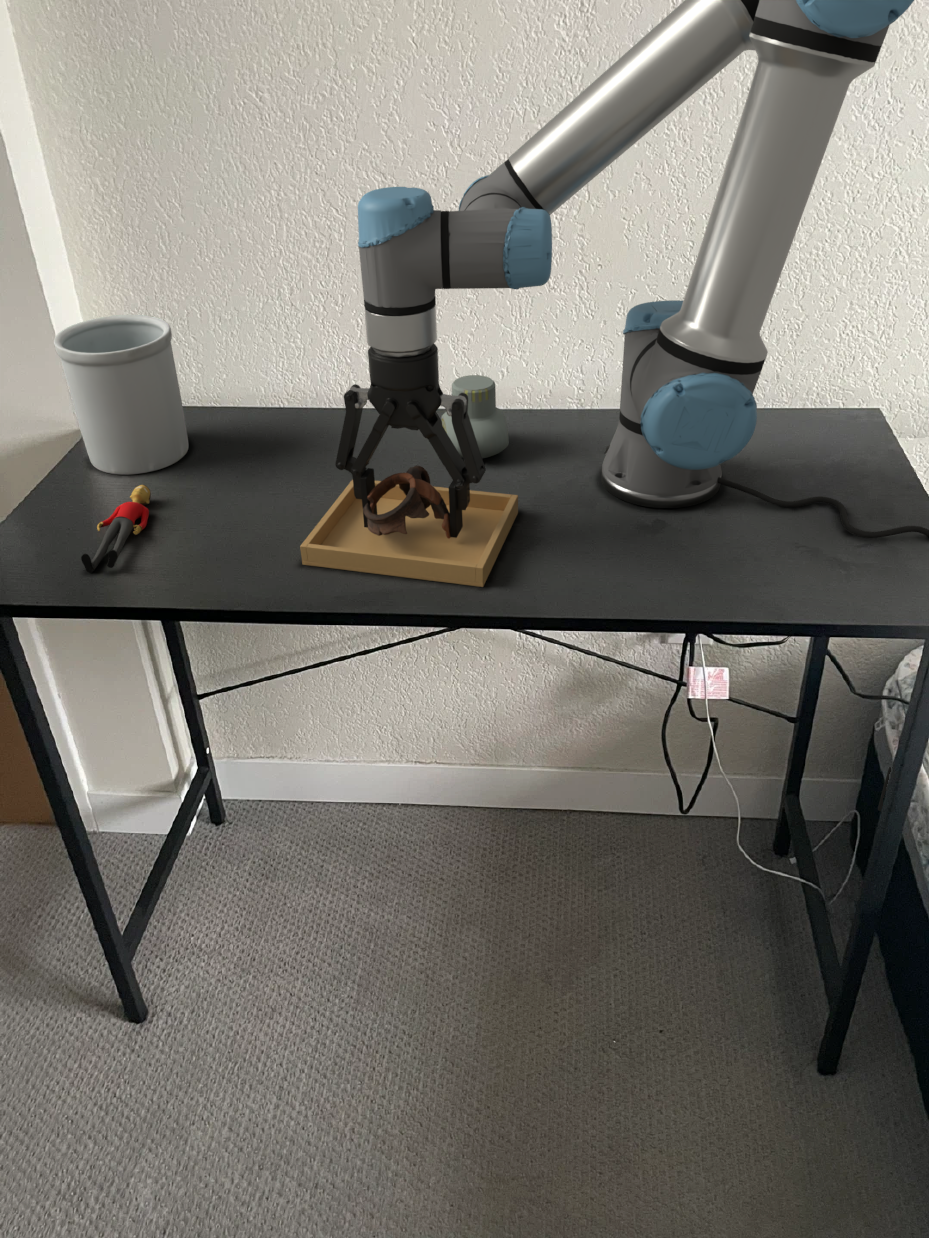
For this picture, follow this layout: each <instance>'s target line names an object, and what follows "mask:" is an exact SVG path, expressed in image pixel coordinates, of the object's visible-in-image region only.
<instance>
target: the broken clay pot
mask: <svg viewBox="0 0 929 1238" xmlns="http://www.w3.org/2000/svg"><path fill="white" fill-rule="evenodd" d="M380 481H381V482H380V483H378V484H377V485H376V486H375V487H374V488H373V489H372V491H371V492H370V493H369V495H368V496H367V499H368V500H369V501H370V502H371V504H370V505H369V504H366V505H365V507H364V508H363V512H364V515H365V516H366V517H367V523H368V529H369V531H370V532H372V533H373V534H376V535H378V536H380V535H382V534H383V535H387V534H390V533H394V532H400V533H402V534H407V531H406V522H405V517H406V516H408V517H410V518H426V517H427V516H429V513H428V511H427V510H426V509H427V508H428V507H429V506H430V505H431V507H432V510H433V512H434V517H435V518H436V519H444V520H443V523H442V528H443V530H445V533H446V536H447V538H448V539H449V538H451V537H450V513H449V511H448V509H447V506H446V504H445V502H444V500H443V498H442V497H441V495H440V493H439V492H437V490H436V489H435V488H434V487H435V486H433V485H432V484H431V478H430V475H429V472H428V471H427V470H426V469H425V468H424V467H423V466H422V465H418V464H417V465H414V466H411V467H409V468H408V469H407V470H406V472H398V473H394V474H391V475H388V476H387V477H385V478H384V479H382V480H380ZM396 485H399V488H400V489H401V490H402V491H403V492H404V494H405V495H406V498H405V499H404V500H403V501H402V502H401V503H400V504H399V505H398V506H397V507H396V508H394V509H393V510H391V511H389V512H387V513H384V514H379V515H376V514H374V508H375V505H376V504H377V502H378V501H379V500H380V498H381V497H382V496H383V495H384V494H386V493H387V492H388V491H389V490H390V489H392V488H394V487H395V486H396Z"/></svg>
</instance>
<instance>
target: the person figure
mask: <svg viewBox="0 0 929 1238" xmlns="http://www.w3.org/2000/svg"><path fill="white" fill-rule="evenodd" d="M151 495H152V493H151V490H150V487H148V486H147V485H145V484H140V485H137V486H135V488H133V490H132V492H131V494H130V496H129V499H131V501H126V502H123V503H122V504H120V505H118V506H117V507H116V508H115V510H113V512H112V514H111V515H109V517H108V518H106V519H104V520H102V521H99V522H98V524H97V526H96V528H97V529H96V530H97V531H98V532H100V531H101V528H104V527H108V528H107V530H106V531H105V533H104V536H103V538H102V541H101V543H100V545H99V546H98V549H97V550H96V553H94V554H95V555H94V556H93V557H92V558H91V557H90V555H89V554H88V553H82V555H81V557H80V560H81V562H82V564H83V567H84V569H85V570H86V572H87V573H89V574H90V573H94V571H95V570H96V568H97V567H98V565H99V564H100V563H101V561H102V560H103V558H104V557H105V555H106V553H108V554H107V556H108V557H107V558H108V560H107V564H106V567H107V568H109V569H113V568H114V567H115V565H116V562H117V560H118V558H119V556H120V554H121V552H122V550H123V548H124V545H125V543H126V541H127V539H128V538H129V536H130V535H131V533H133V535H135V536H136V535H139V534H140V533H141V532H142V531H143V530H145V528H146V527H147V524H148V519H149V515H150V510H149V508H148V507H146V506H147V505H148V504H150V501H151V497H152V496H151ZM138 519H140V523H139V524H136V520H138ZM132 530H134V531H133V532H132ZM116 537H117V539H116V541H115V544H114V546H113V548H112V549H111V550H109V547H110V545H111V543H112V542H113V541H114V539H115V538H116ZM108 550H109V551H108Z"/></svg>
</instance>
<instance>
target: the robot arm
mask: <svg viewBox="0 0 929 1238" xmlns="http://www.w3.org/2000/svg"><path fill="white" fill-rule="evenodd" d="M914 2H915V0H683V1H682V2H681V3H680V4H679V5H677V7H675V9H673V10H672V11H671V12H670V13H669V14H668V15H666V16H665V17H664V19H662V20H661V21H659V23H657V24H656V25H655V26H654V27H653V28H652V29H651V30H650V31H649V32H647V34H645V35H644V36H643V37H642V38H641V39H640V40H638V41H637V42H636V43H635V44H634V45H633V46H632V47H631V48H629V49H628V51H627V52H625V53H624V54H623V55H622V56H621V57H620V58H618V59H617V60H616V61H615V62H614V63H613V64H612V65H610V67H609V68H607V69H605V70H604V72H603V73H602V74H601V75H599V76H598V77H597V78H596V79H595V80H594V81H593V82H592V83H591V84H590V85H588V86H587V87H586V88H584V89H583V91H581V93H579V94H578V95H576V97H575V98H573V100H571V101H570V102H569V103H568V104H567V105H566V106H565V107H563V108H562V109H561V110H560V111H559V112H558V113H557V114H556V115H555V116H553V118H551V120H549V121H548V122H546V124H544V126H542V127H541V128H540V129H538V131H537V132H536V133H534V134H533V135H532V136H531V137H530V138H529V139H528V140H527V141H526V142H524V143H523V144H522V145H521V146H520V147H519V148H517V150H516V151H514V152H513V153H512V154H511V155H510V156H509V157H508V158H507V159H506V160H505V161H504V162H502V163H501V164H500V165H499V166H497V168H495V169H494V170H493V171H492V172H491V173H490V174H487V175H484V176H481V177H479V178H476V179H475V180H474V181H473V182H472V183H470V185H469V186H468V187H467V188H466V190H465V191H464V193H463V195H462V198H461V200H460V201H459V206H458V210H441V209H440V210H438V209H435V207H434V206H435V205H433V202H432V201H433V200H432V196H431V194H430V193H429V191H427V190H425V189H423V188H419V187H408V186H389V187H388V186H387V187H382V188H376V189H373V190H370V191H368V192H366V193H364V194H363V195H362V197H361V198H360V200H359V201H358V203H357V222H358V223H357V226H358V228H357V229H358V242H357V246H358V252H359V262H360V274H361V283H362V284H361V285H362V293H363V294H362V295H363V305H364V322H365V337H366V344H367V345H368V346H369V348H368V349H367V360H368V361H367V362H368V370H369V380H370V386H369V387H361V386H360V385H359V384H356V383H355V384H352V385H351V386H350V387H349V388H348V390H347V391H346V392H344V394H343V402H344V409H345V414H344V419H343V424H342V429H341V434H340V439H339V444H338V449H337V453H336V459H335V464H334V465H335V468H336V469H337V470H340V471H343V470H344V471H347V472H349V473H350V475H351V477H352V480H353V486H354V495H355V497H356V499H362V507H363V508H364V507H365V505H366V504H369V505H370V504H371V502H370V501H369V500H368V499H367V496H368V495H369V493H370V492H371V491H372V489H373V488H374V487H375V481H376V478H375V469H374V468H371V467H367V466H368V465H369V463H370V461H371V460H372V457H373V455H374V453H375V452H376V450H377V448H378V446H379V444H380V443H381V441H382V440H383V437H384V435H385V433H386V431H387V429H388V428H389V426H390V427H391V429H396V430H397V429H398V430H399V429H404V428H405V429H408V430H411V431H420V433H421V435H422V436H423V437H424V438H425V439H426V440H428V443H429V444H430V445H431V447H432V449H433V450H434V452H435V453H436V455H437V457H438V458H439V460H440V461H441V463H442V465H443V467H444V468H445V470H446V471H447V473H448V475H449V476H450V478H451V479H452V480H451V483H450V484H449V485H448V488H449V511H450V537H454V538H457V536H458V534H459V533H460V531H461V529H462V527H463V519H462V510H466V508H467V507H468V505H469V502H470V490H471V486H470V485H471V484H479V483H480V482H481V480H482V478H483V476H484V475H485V473H486V466H485V463H484V460H483V459H482V456H481V453H480V450H479V447H478V444H477V441H476V438H475V434H474V431H473V428H472V425H471V422H470V419H469V415H468V396H467V395H466V394H465V393H460V394H459V395H458V396H453V395H452V394H445V393H444V392H443V390H442V388H441V386H440V373H439V350H438V346H437V344H435V343H436V342H437V341H438V331H437V330H438V327H437V326H438V325H437V299H436V298H437V297H436V290H463V289H466V290H469V289H470V290H471V289H477V290H479V289H481V290H482V289H511V290H519V289H524V288H533V287H534V288H535V287H541V286H544V285H546V284H547V283H548V282H549V280H550V278H551V275H552V264H553V263H552V261H553V227H552V218H551V215H552V214H553V213H554V212H555V211H557V210H558V209H559V208H560V207H562V205H564V204H565V203H566V202H567V201H568V200H570V199H571V198H573V196H575V195H576V194H577V193H579V191H580V190H582V189H583V188H585V186H586V185H587V184H589V183H591V181H592V180H594V178H596V177H597V176H598V175H599V174H601V173H602V172H603V171H605V170H606V169H607V168H608V167H609V166H610V165H611V164H613V163H614V162H615V161H616V160H617V159H618V158H620V157H621V156H622V155H623V154H624V153H625V152H626V151H628V150H629V149H630V148H631V147H632V146H634V145H635V144H636V143H637V142H639V140H641V139H642V138H644V136H645V135H647V134H648V133H649V132H650V131H651V130H652V129H654V128H655V127H656V126H657V125H658V124H660V123H661V122H662V121H663V120H665V119H666V118H667V117H668V116H669V115H670V114H671V113H673V112H674V111H675V110H676V109H678V108H679V107H680V106H681V105H683V103H685V101H687V100H688V99H689V98H691V97H692V96H693V95H694V94H696V92H698V91H699V90H700V89H701V88H702V87H703V86H705V85H706V84H708V82H709V81H710V80H712V79H713V78H714V77H716V76H717V74H719V73H720V72H721V71H722V70H724V69H725V68H726V67H727V66H728V65H729V64H731V63H732V62H733V61H734V60H735V59H737V58H738V57H739V56H740V55H741V54H743V53H744V52H746V51H755V53H756V56H757V63H756V68H755V71H754V74H753V76H752V80H751V84H750V86H749V90H748V93H747V96H746V100H745V102H744V106H743V109H742V112H741V115H740V119H739V122H738V124H737V125H738V126H737V128H736V132H735V135H734V138H733V141H732V144H731V147H730V150H729V154H728V157H727V160H726V162H725V163H726V164H725V167H724V170H723V173H722V177H721V179H720V183H719V186H718V189H717V192H716V196H715V198H714V202H713V205H712V208H711V211H710V214H709V217H708V222H707V224H706V226H705V230H704V234H703V236H702V240H701V243H700V247H699V250H698V253H697V256H696V259H695V262H694V266H693V269H692V272H691V276H690V278H689V281H688V284H687V288H686V291H685V294H684V297H683V299H682V300H681V299H679V300H674V299H673V300H656V301H655V300H654V301H647V302H643V303H639V304H637V305H634V306H633V307H631V308H630V309H629V311H627V314H626V318H625V324H624V329H623V331H622V334H623V335H624V338H623V339H624V340H623V357H622V369H621V371H622V372H621V385H620V386H621V387H620V399H619V416H618V417H619V418H618V424H617V427H616V430H615V432H614V435H613V437H612V439H611V441H610V444H608V445H607V446H606V448H605V451H604V455H605V456H604V459H603V462H602V464H601V475H600V476H601V477H600V479H601V480H600V481H601V484H602V486H603V488H604V489H605V490H606V491H607V492H608V493H610V494H611V495H612V496H613V497H615V498H617V499H620V500H621V501H624V502H626V503H629V504H633V505H637V506H641V507H646V508H655V509H680V508H687V507H691V506H696V505H699V504H702V503H705V502H707V501H709V500H710V499H711V498H713V497H715V496H716V495H717V493H718V492H719V490H720V488H721V485H723V486H725V487H728V488H731V489H734V490H737V491H739V492H743V493H745V494H748V495H751V496H753V497H755V498H758V499H759V500H761V501H764V502H766V503H769V504H771V505H774V506H778V507H782V508H783V507H784V508H798V507H803V506H804V507H805V506H807V505H812V504H817V503H823V504H828V505H831V506H833V507H835V508H836V509H838V511H839V515H840V521H841V524H842V526H843V528H844V529H846V531H847V532H848V533H850V534H852V535H854V536H856V537H860V538H866V539H879V538H886V537H891V536H896V535H900V534H907V533H919V534H920V535H921V534H922V535H924V536H925V537H927V538H928V539H929V528H927V527H923V526H921V525H904V526H898V527H894V528H890V529H889V528H888V529H884V530H877V531H876V530H875V531H870V530H869V531H868V530H863V529H859V528H857V527H855V526H853V525H852V524H851V523H850V521H849V518H848V512H847V509H846V507H845V506H844V505H845V504H843V503H842V502H841V501H839V500H837V499H835V498H832V497H829V496H821V495H820V496H812V497H806V498H803V499H799V500H782V499H778V498H775V497H772V496H770V495H768V494H765V493H763V492H761V491H759V490H757V489H754V488H751V487H748V486H746V485H743V484H740V483H739V482H734V481H732V480H730V479H729V480H728V479H726V478H723V477H722V475H723V472H722V466H721V464H723V463H725V462H727V461H730V460H732V459H733V458H734V457H736V456H737V455H738V454H740V453H741V452H742V450H743V449H745V447H746V446H747V445H748V444H749V442H750V440H751V439H752V437H753V435H754V433H755V429H756V426H757V422H758V421H757V419H758V412H757V411H758V410H757V409H758V404H757V402H756V398H755V396H754V392H755V389H756V386H757V384H758V381H759V378H760V376H761V374H762V371H763V367H764V365H765V362H766V359H767V357H768V354H769V353H768V351H769V350H768V349H767V346H766V345H765V342H764V340H763V339H762V337H761V330H762V327H763V325H764V322H765V320H766V317H767V314H768V311H769V309H770V305H771V303H772V299H773V298H774V294H775V292H776V289H777V286H778V283H779V280H780V278H781V275H782V272H783V270H784V267H785V264H786V260H787V258H788V255H789V253H790V250H791V248H792V244H793V242H794V239H795V236H796V233H797V231H798V228H799V225H800V222H801V220H802V218H803V217H802V216H803V215H804V212H805V209H806V206H807V203H808V200H809V197H810V195H811V192H812V190H813V187H814V183H815V181H816V179H817V176H818V173H819V170H820V167H821V165H822V162H823V159H824V156H825V153H826V152H827V151H826V150H827V148H828V145H829V142H830V139H831V137H832V134H833V131H834V128H835V126H836V123H837V120H838V117H839V115H840V112H841V110H842V106H843V104H844V101H845V99H846V95H847V92H848V89H849V87H850V86H851V83H852V82H853V81H854V80H855V79H857V78H858V77H860V76H861V75H864V73H866V72H867V71H869V70H871V69H872V68H874V67H875V65H876V63H877V59H878V58H879V55H880V52H881V50H882V48H883V44H884V42H885V39H886V36H887V33H888V31H889V29H890V26H891V24H893V23H894V22H896V21H897V20H898V19H899V18H900V17H901V16H902V15H903V14H904V13H905V12H906V11H908V9H909V8H910V7H911V6H912V4H913V3H914ZM368 401H369V403H370V404H371V405H372V407H373V408H374V409H375V410H376V412H377V413H378V414H379V415H378V416H377V418H376V420H375V422H374V424H373V425H372V429H371V431H370V432H369V434H368V437H367V438H366V440H365V442H364V444H363V446H362V448H361V449H360V451H359V453H358V454H357V456H356V457H355V456H354V453H355V448H356V442H357V439H358V434H359V433H358V432H359V428H360V424H361V418H362V415H363V409H364V407H365V406H366V405H367V403H368ZM440 407H443V408H444V409H445V412H447V414H448V416H452V425H453V428H454V432H455V435H456V438H457V441H458V444H459V447H460V450H461V453H462V456H463V458H461V456H460V454H459V453H458V451H457V449H456V448H455V446H454V444H453V443H452V441H451V439H450V438H449V436H448V434H447V433H446V431H445V429H444V428H443V426H442V418H441V417H440V416H439V414H438V412H437V411H438V410H439V408H440ZM374 514H376V515H377V504H376V505H375V508H374ZM363 518H364V527H367V528H368V523H367V517H366V516H365V515H364V512H363ZM890 772H891V766H889V767H888V770H887V773H886V776H885V780H884V782H883V783H884V784H883V787H882V790H881V796H880V798H879V801H878V802H879V803H878V806H877V811H879V812H882V811H881V809H882V806H883V798H884V795H885V791H886V787H887V784H888V780H889V774H890Z"/></svg>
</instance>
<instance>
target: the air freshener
mask: <svg viewBox="0 0 929 1238" xmlns="http://www.w3.org/2000/svg"><path fill="white" fill-rule="evenodd" d="M460 393H465V394H466V395H467V396H468V415H469V419H470V422H471V425H472V428H473V431H474V434H475V438H476V441H477V444H478V447H479V450H480V453H481V456H482V460H483V459H487V458H490V457H494V456H496V455H497V454H500V453H501V452H503V451H504V450H505V449H507V447H509V443H510V438H509V437H510V435H509V427H508V422H507V417H506V415H505V412H504V411H503V410H502V409H500V408H499V407H497V401H496V400H497V399H496V397H497V396H496V395H497V394H496V381H494V380H493V378H491V377H489V376H485V375H480V374H468V375H463V376H460V377H457V378H455V380H453V382H452V383H451V395H453V396H458V395H459V394H460ZM441 421H442V426H443V428H444V429H445V431H446V433H447V434H448V436H449V438H450V439H451V441H452V443H453V444H454V446H455V448H456V449H457V451H458V453H459V454H460V456H461V458H462V459H463V456H462V453H461V450H460V447H459V444H458V441H457V438H456V435H455V432H454V428H453V425H452V416H448V414H447V412H446V411H445V412H444V413H443V414H442V415H441Z"/></svg>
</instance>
